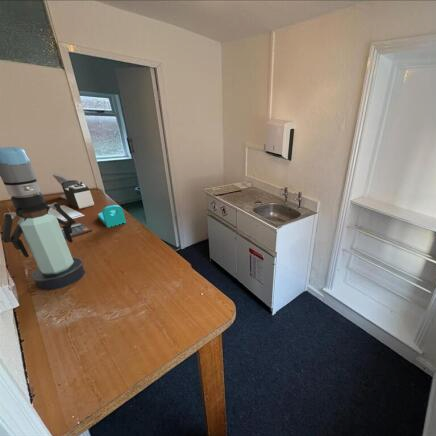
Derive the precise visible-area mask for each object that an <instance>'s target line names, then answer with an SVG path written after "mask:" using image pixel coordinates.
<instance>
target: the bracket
mask: <svg viewBox="0 0 436 436" xmlns="http://www.w3.org/2000/svg"><path fill="white" fill-rule="evenodd" d="M98 219H99V220H100V221H101V222H102V223H103V225H105V227H106V228H111V226H112V227H116V226H120V225H123V224H122V223H124V224H127V220H126V217H125V212H124V209H123V208H122V207H121V206H120V205H118V204H111V205H107V206H104V208H103V209H102V210H101V212H99V213H98ZM119 224H120V225H119ZM115 225H116V226H115Z"/></svg>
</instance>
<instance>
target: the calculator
mask: <svg viewBox="0 0 436 436" xmlns="http://www.w3.org/2000/svg"><path fill="white" fill-rule="evenodd" d="M60 228H61V230H62V233H63V236H64V238H65V240H67V238H66V235H65V233H64V230H63V228H62V226H60ZM71 229H72V232H73V233H72V234H70V235H71V238H73V237H76V236H79V235H82V234H87V233H89V232H92V231H93V230H92V229H91V228H90V227H88V226H87V225H85V224H84V223H83V222H76V223H75V224H72V225H71Z"/></svg>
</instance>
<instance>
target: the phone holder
mask: <svg viewBox="0 0 436 436" xmlns="http://www.w3.org/2000/svg"><path fill="white" fill-rule="evenodd" d="M52 176H53V178H54V179H55V180H56V181H57V182H58V183H59V184H60V185H61V183H62V182H66V181H70V178H69V177H67V176H65V175H61V174H58V173H54V174H52ZM59 197H60V199H64V200H67V198H66V196H65V194H63V195H60V196H59Z"/></svg>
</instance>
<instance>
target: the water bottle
mask: <svg viewBox="0 0 436 436" xmlns="http://www.w3.org/2000/svg"><path fill="white" fill-rule="evenodd" d="M47 213H48V212H47V209H46V208H45V209H41V210H40V211H39V210H36V211H32V212H31V213H29V212H27V213H23V214H22V216H23V218H22V217H20V218H19V219H18V221H17V225H18V224H19V225H20V226H21V229H22V231H23V232H22V234H21V235H22V236H23V238H24V240H25V242H26V245H27V247H28V249H29V251H30V253H31V255H32V257H33V260H34V261H35V263H36V266H37V269H38V268H39V270H40V271H41V272H42V273H44V274H46V275H47V274H57V273H60V272H62V271H65V270H67V269H68V268H69V267H70V266H72V264H73V262H74V261H73V259H72V258H73V256H72V253H71V251H70V249H69V246H68V244H67V240H66V239H65V238H64V236H63V233H62V230H61V226H60V225H61V224H60V223H58V220H57V218H56V217H55V216H54V215H52V214H50V213H48V214H47ZM25 218H27V219H26V220H25V221H24V219H25Z"/></svg>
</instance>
